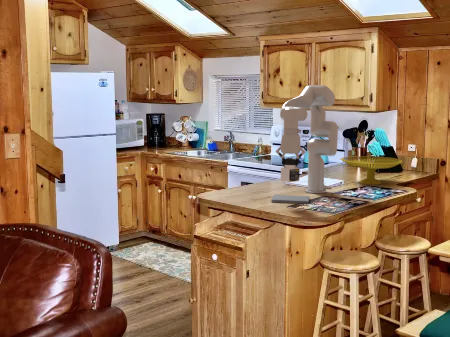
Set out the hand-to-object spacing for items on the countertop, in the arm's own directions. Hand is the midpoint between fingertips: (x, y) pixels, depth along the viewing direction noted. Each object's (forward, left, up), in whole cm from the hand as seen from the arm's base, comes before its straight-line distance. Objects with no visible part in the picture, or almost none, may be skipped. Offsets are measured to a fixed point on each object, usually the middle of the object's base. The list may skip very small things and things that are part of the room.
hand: (290, 165), depth 314 cm
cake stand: (-48, -84, -22) cm, 99 cm away
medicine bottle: (0, 0, -8) cm, 8 cm away
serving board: (0, -14, -22) cm, 25 cm away
